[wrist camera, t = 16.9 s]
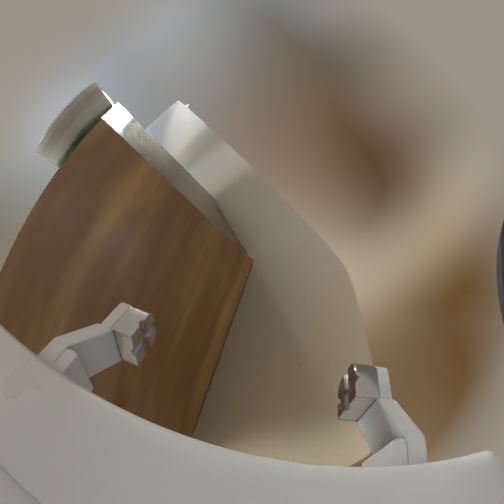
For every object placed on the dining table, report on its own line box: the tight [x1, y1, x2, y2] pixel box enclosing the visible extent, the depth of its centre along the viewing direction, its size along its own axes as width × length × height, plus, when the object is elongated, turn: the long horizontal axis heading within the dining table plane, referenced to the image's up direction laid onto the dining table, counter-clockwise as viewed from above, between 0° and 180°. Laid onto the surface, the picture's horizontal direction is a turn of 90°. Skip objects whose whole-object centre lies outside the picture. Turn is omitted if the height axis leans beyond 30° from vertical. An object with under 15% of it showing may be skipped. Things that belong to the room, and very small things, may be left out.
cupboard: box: [21, 103, 246, 253], centre depth 35 cm, size 18×26×24 cm
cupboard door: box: [0, 119, 253, 437], centre depth 19 cm, size 7×26×24 cm, turn 158°
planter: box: [36, 83, 114, 168], centre depth 57 cm, size 22×22×33 cm
